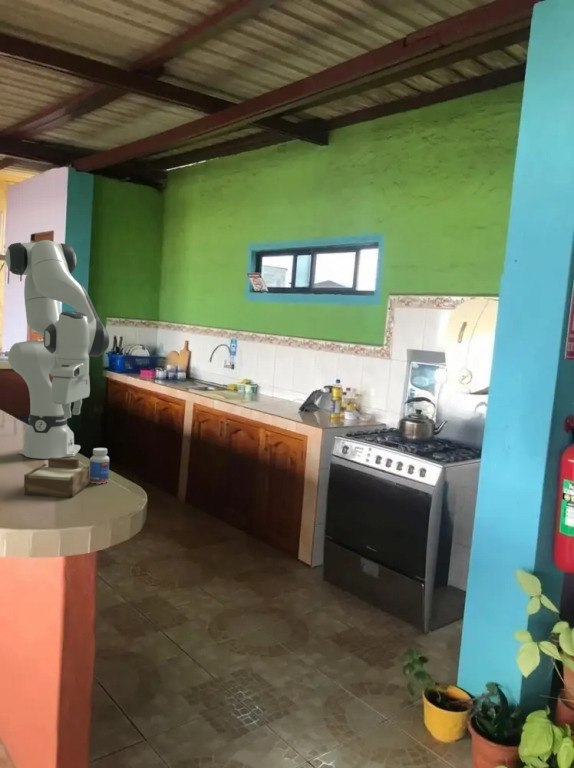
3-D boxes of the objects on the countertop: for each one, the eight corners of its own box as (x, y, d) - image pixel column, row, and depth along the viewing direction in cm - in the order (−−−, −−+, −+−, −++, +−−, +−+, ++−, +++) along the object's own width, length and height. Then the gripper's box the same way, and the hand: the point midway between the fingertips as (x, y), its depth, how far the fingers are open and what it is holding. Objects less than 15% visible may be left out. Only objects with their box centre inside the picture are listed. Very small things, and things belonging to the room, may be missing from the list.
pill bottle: (103, 485, 183) (103, 451, 182) (86, 483, 184) (86, 450, 183) (112, 480, 188) (112, 448, 187) (95, 478, 189) (96, 446, 188)
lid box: (43, 482, 182) (44, 464, 181) (88, 485, 181) (89, 466, 181) (24, 494, 169) (24, 474, 168) (72, 497, 169) (72, 477, 168)
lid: (48, 467, 181) (48, 455, 181) (85, 469, 181) (85, 458, 181) (28, 478, 168) (28, 466, 168) (68, 480, 168) (68, 468, 168)
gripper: (75, 365, 192) (74, 410, 194) (47, 370, 172) (47, 420, 173) (95, 366, 192) (94, 411, 194) (70, 371, 172) (70, 422, 173)
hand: (72, 416), depth 183 cm, fingers open, 5 cm apart
